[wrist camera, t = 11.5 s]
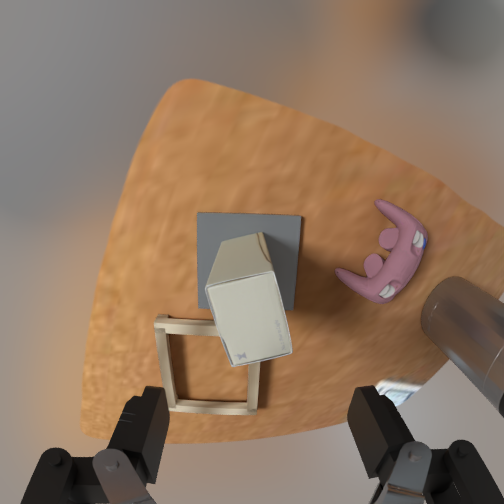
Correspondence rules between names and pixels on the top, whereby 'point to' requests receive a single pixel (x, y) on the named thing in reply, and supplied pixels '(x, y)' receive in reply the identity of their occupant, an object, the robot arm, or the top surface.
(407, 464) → the robot arm
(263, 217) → the coaster
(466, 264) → the top surface
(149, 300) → the top surface
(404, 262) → the video game controller
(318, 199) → the top surface
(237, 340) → the skincare box
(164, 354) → the wooden rectangular frame
